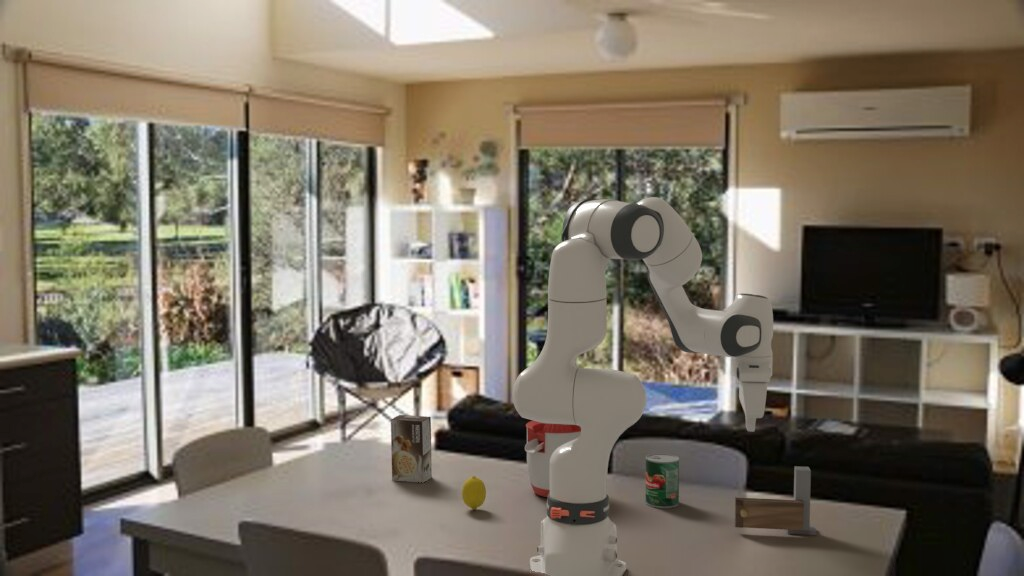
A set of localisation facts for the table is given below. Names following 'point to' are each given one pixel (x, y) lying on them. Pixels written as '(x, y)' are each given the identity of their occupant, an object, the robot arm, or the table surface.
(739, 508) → the gate leaf
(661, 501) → the canned tomato
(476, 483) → the lemon
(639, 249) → the robot arm
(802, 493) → the gatepost
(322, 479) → the table surface
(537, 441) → the citrus juicer
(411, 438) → the coffee box
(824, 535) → the table surface
